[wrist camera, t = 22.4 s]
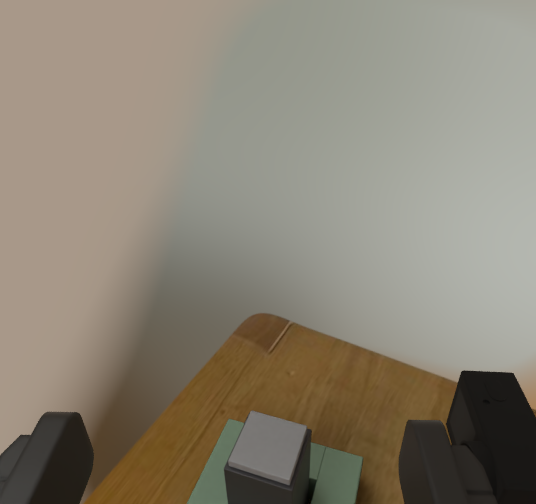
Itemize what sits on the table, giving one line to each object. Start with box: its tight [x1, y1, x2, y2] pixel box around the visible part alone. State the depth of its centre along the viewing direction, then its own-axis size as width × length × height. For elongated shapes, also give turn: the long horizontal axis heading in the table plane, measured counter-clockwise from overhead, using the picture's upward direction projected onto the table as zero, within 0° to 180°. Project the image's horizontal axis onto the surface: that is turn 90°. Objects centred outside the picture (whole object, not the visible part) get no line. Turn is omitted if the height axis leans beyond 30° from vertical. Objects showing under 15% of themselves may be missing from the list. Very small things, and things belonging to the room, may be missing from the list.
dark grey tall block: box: [224, 411, 312, 504], centre depth 32 cm, size 4×4×10 cm
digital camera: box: [446, 371, 536, 504], centre depth 36 cm, size 10×5×7 cm, turn 175°
